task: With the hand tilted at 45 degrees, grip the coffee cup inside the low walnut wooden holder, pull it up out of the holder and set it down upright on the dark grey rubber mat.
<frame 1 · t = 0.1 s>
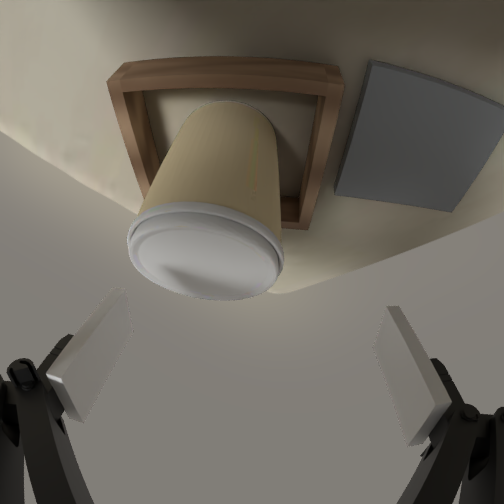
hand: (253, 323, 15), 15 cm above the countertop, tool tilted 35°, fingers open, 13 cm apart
coffee cup: (229, 137, 24), resting in cup holder
rubber mat: (421, 145, 22), on the countertop
cup holder: (228, 139, 24), on the countertop
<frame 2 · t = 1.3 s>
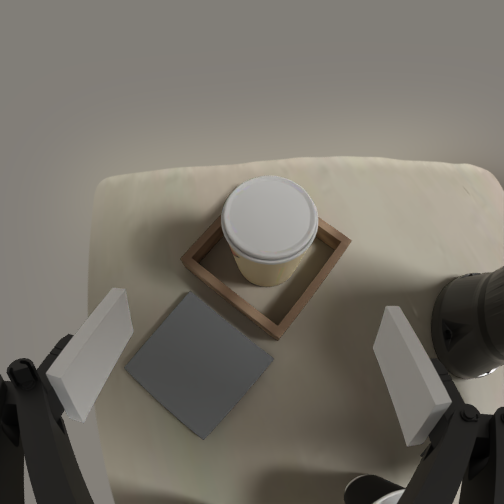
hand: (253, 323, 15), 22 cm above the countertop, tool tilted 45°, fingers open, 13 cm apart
dixie cup: (361, 489, 28), on the countertop
coffee cup: (267, 258, 40), resting in cup holder
rubber mat: (197, 365, 35), on the countertop
cup holder: (267, 258, 40), on the countertop
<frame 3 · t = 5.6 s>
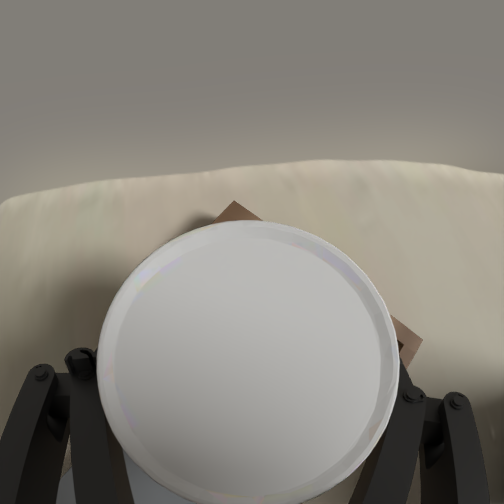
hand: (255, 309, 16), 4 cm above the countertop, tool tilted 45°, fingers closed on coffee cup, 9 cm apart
coffee cup: (251, 370, 19), resting in cup holder, touching gripper
cup holder: (251, 371, 19), on the countertop
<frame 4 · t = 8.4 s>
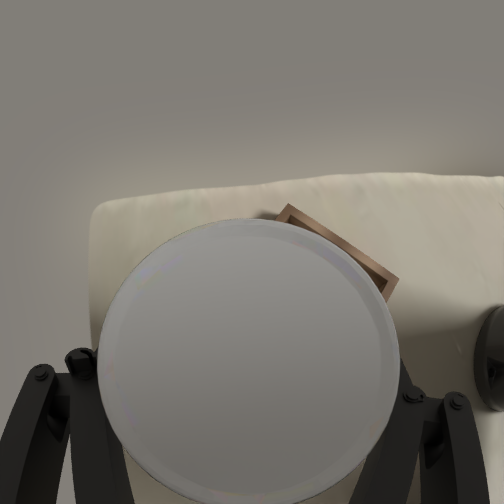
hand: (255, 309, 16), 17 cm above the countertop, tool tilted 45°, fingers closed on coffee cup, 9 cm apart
coffee cup: (251, 370, 19), point 13 cm above the countertop, touching gripper
cup holder: (303, 301, 34), on the countertop
when the fingers open (7 cm above the countertop, at t = 11.3 s): coffee cup drops 1 cm, resting on rubber mat.
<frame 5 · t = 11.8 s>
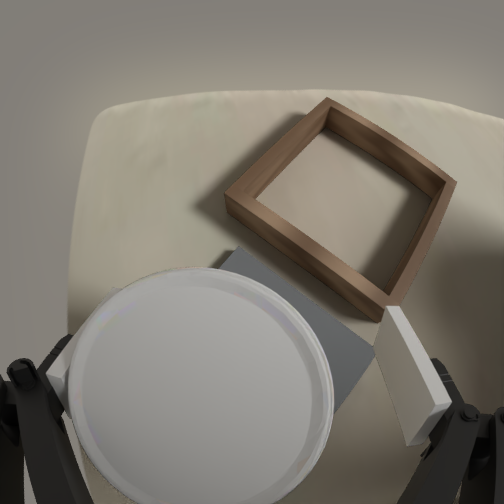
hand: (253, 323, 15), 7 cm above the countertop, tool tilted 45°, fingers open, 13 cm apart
coffee cup: (222, 385, 20), point 1 cm above the countertop, touching gripper, rubber mat
rubber mat: (251, 370, 21), on the countertop
cup holder: (349, 202, 26), on the countertop
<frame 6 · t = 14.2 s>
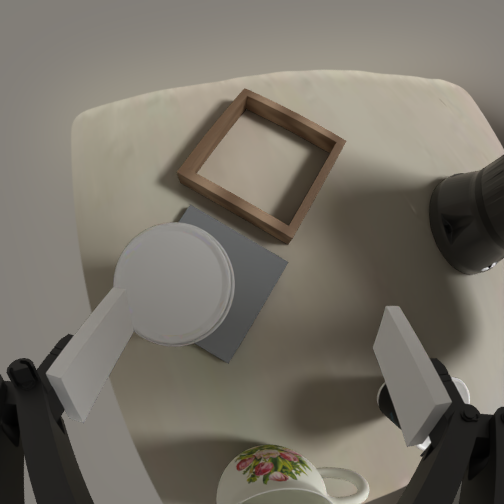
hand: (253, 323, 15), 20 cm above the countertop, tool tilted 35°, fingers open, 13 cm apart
pitcher: (272, 467, 31), on the countertop
dixie cup: (392, 394, 33), on the countertop
coffee cup: (191, 294, 34), point 1 cm above the countertop, touching rubber mat
rubber mat: (208, 282, 35), on the countertop
cup holder: (263, 164, 38), on the countertop
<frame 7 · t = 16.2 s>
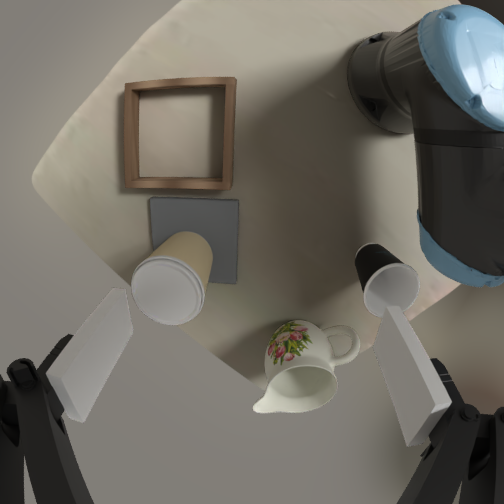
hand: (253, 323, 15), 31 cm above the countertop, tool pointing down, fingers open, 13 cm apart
pitcher: (301, 332, 52), on the countertop
dixie cup: (369, 256, 46), on the countertop
coffee cup: (188, 254, 47), point 1 cm above the countertop, touching rubber mat
rubber mat: (194, 239, 47), on the countertop
cup holder: (180, 132, 40), on the countertop
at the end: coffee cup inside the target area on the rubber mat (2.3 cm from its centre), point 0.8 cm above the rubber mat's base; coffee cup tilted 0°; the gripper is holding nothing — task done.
